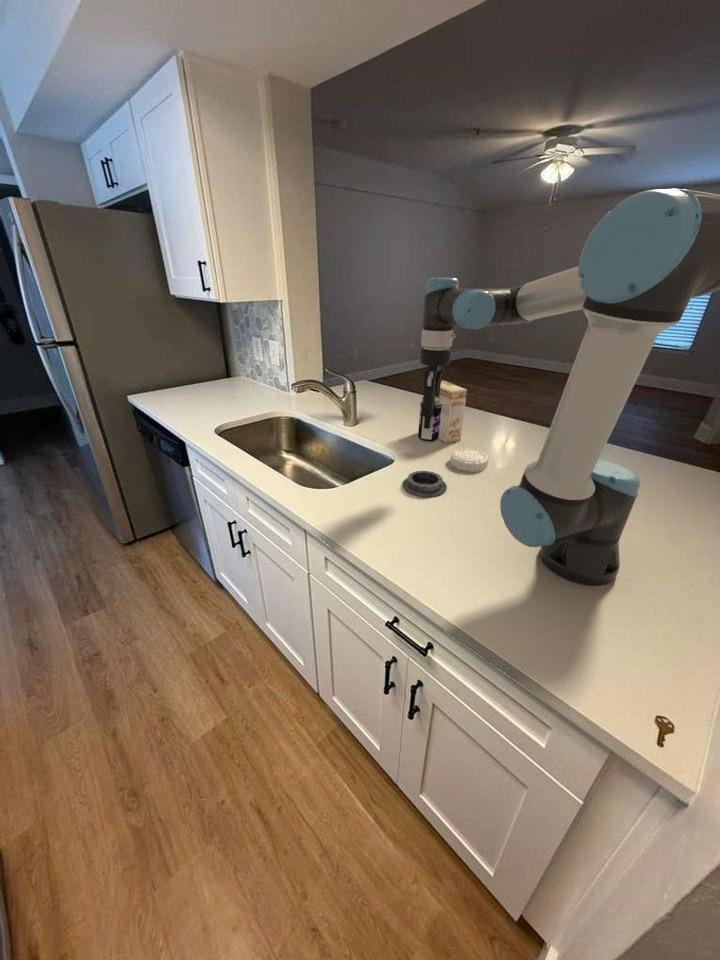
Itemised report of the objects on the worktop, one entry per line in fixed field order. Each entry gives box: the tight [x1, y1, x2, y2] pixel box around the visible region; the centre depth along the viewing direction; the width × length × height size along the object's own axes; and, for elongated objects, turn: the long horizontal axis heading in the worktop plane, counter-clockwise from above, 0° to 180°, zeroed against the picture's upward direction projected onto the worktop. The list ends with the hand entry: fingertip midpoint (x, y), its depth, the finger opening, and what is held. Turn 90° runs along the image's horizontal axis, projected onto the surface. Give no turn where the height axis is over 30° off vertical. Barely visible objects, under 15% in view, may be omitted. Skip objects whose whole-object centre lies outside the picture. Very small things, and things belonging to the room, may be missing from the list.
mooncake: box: [449, 448, 489, 473], centre depth 128 cm, size 12×12×4 cm
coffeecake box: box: [438, 380, 468, 444], centre depth 147 cm, size 15×7×20 cm, turn 22°
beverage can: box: [417, 396, 442, 444], centre depth 106 cm, size 6×6×12 cm
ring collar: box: [402, 470, 448, 498], centre depth 115 cm, size 13×13×3 cm
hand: (428, 434), depth 108 cm, fingers closed on beverage can, 6 cm apart
